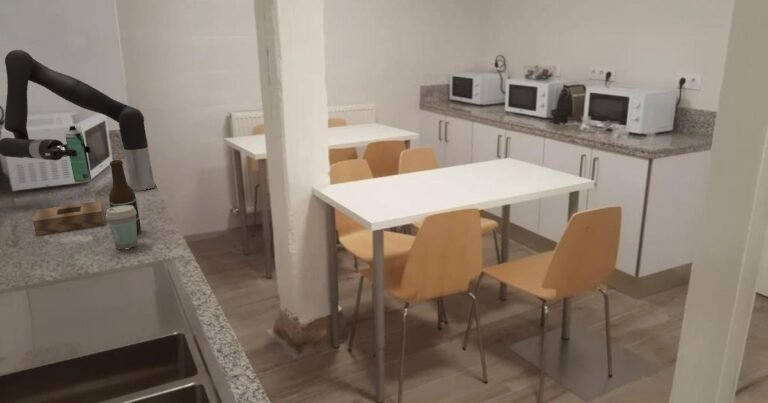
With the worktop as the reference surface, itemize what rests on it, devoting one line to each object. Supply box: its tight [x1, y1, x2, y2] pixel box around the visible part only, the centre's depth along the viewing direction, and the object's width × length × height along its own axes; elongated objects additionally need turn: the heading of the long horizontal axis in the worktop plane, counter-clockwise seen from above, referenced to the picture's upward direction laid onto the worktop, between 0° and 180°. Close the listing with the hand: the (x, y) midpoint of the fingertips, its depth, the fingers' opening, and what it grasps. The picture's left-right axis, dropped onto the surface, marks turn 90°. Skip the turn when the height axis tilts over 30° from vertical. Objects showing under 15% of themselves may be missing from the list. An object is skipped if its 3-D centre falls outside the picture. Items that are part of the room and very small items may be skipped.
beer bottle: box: [108, 159, 142, 234], centre depth 179 cm, size 8×8×24 cm
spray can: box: [65, 125, 92, 184], centre depth 201 cm, size 6×6×20 cm
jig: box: [32, 200, 105, 236], centre depth 192 cm, size 20×14×5 cm
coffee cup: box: [105, 205, 138, 250], centre depth 169 cm, size 8×8×12 cm
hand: (82, 151), depth 200 cm, fingers closed on spray can, 5 cm apart
